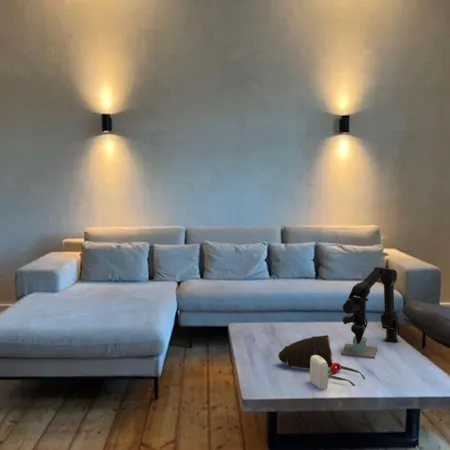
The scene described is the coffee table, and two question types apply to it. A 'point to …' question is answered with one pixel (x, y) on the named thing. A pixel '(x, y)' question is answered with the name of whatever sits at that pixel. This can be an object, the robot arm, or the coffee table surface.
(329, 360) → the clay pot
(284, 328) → the coffee table surface
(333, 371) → the novelty glasses
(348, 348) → the mat
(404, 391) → the coffee table surface
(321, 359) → the photo printer
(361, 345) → the cube
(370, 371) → the coffee table surface
